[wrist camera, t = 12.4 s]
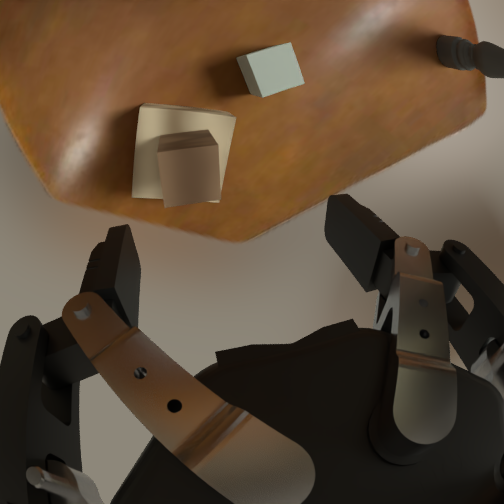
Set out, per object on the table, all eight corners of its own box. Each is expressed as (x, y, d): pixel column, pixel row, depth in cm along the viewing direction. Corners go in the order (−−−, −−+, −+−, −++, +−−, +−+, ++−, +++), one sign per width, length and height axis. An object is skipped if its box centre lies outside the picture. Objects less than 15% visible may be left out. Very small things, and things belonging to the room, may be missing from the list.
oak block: (227, 111, 32) (236, 117, 28) (212, 186, 37) (218, 202, 33) (144, 102, 28) (139, 107, 24) (135, 181, 34) (131, 197, 30)
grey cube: (274, 45, 28) (290, 42, 24) (287, 81, 31) (304, 83, 27) (235, 57, 28) (246, 55, 24) (250, 94, 31) (262, 97, 27)
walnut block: (208, 129, 28) (218, 144, 22) (210, 173, 31) (221, 199, 25) (160, 135, 27) (157, 152, 21) (165, 179, 30) (164, 207, 24)
